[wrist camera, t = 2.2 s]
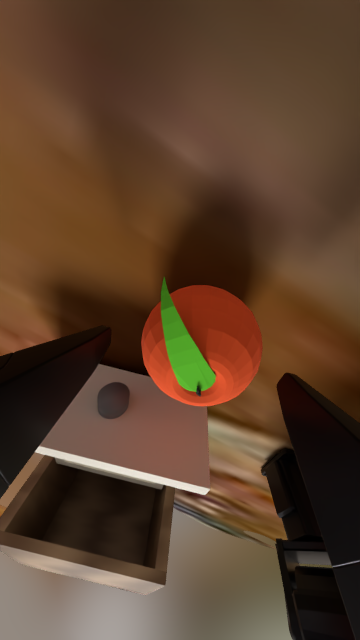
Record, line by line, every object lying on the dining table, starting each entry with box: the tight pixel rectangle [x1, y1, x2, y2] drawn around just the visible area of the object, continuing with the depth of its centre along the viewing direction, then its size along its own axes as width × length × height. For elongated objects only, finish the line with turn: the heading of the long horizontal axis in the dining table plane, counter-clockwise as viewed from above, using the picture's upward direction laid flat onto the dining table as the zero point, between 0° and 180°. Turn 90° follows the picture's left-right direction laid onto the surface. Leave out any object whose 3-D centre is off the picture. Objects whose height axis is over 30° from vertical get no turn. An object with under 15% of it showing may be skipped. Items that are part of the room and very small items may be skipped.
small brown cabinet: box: [0, 455, 175, 595], centre depth 20 cm, size 15×13×10 cm
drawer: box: [35, 364, 210, 495], centre depth 15 cm, size 15×14×7 cm
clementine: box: [141, 277, 262, 406], centre depth 10 cm, size 8×7×7 cm
